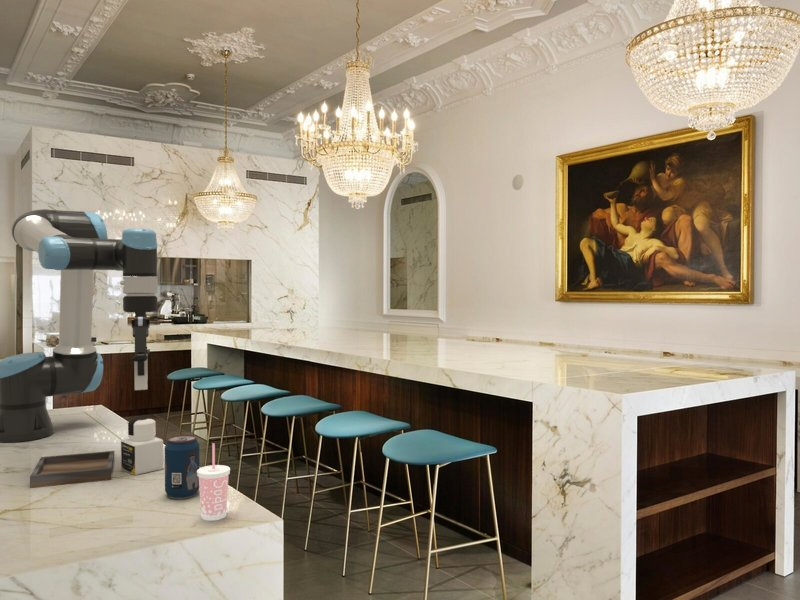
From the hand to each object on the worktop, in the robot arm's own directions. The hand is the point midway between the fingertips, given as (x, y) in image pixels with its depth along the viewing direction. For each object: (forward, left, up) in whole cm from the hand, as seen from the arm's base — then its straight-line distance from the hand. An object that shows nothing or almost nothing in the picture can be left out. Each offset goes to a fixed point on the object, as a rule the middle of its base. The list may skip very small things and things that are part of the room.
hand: (141, 385), depth 153 cm
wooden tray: (-2, -15, -20) cm, 25 cm away
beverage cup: (+37, +13, -20) cm, 44 cm away
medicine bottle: (0, 0, -20) cm, 20 cm away
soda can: (+22, +8, -20) cm, 31 cm away
